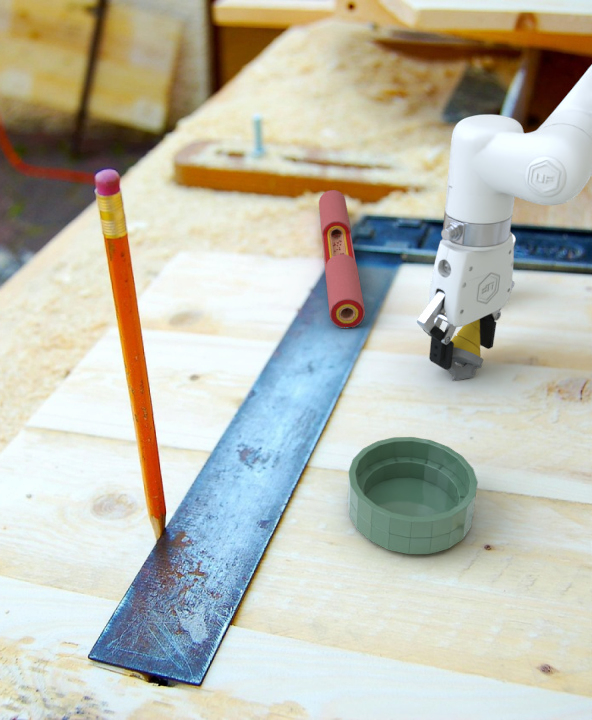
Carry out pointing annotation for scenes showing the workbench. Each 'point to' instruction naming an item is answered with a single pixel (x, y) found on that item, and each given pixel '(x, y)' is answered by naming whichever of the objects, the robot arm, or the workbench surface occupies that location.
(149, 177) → the workbench surface
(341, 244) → the blood vessel
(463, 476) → the bowl
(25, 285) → the workbench surface
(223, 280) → the workbench surface
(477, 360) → the drill bit
